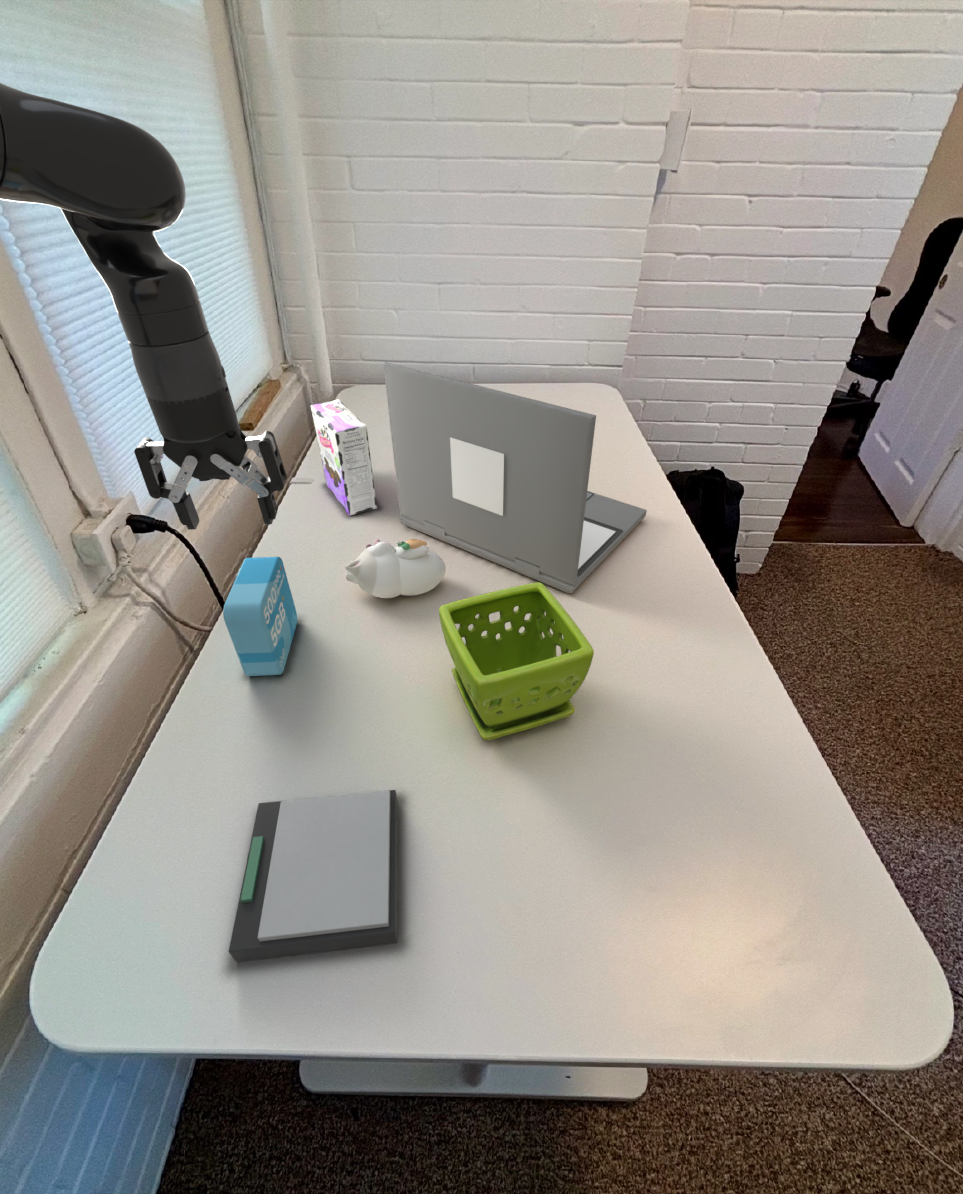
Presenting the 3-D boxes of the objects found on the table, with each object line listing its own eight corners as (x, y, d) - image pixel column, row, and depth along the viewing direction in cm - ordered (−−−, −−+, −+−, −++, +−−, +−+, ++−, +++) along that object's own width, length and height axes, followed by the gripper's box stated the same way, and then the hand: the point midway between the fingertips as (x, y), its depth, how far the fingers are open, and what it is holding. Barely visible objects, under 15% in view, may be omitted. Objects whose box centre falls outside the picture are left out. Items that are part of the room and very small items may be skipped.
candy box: (325, 485, 117) (308, 403, 107) (353, 477, 119) (340, 397, 109) (349, 517, 108) (333, 431, 97) (379, 508, 110) (367, 424, 99)
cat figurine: (447, 528, 87) (343, 532, 83) (454, 579, 84) (346, 584, 81) (438, 555, 96) (343, 559, 92) (444, 602, 93) (346, 608, 90)
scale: (235, 962, 51) (225, 948, 49) (264, 815, 62) (256, 798, 60) (397, 943, 52) (393, 928, 50) (397, 801, 63) (394, 784, 61)
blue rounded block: (281, 679, 77) (259, 610, 69) (246, 681, 77) (220, 611, 69) (298, 619, 86) (280, 551, 78) (267, 620, 86) (246, 552, 78)
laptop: (644, 522, 105) (676, 359, 87) (571, 599, 89) (591, 418, 71) (486, 470, 121) (485, 323, 103) (399, 527, 105) (380, 364, 87)
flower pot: (586, 726, 71) (599, 651, 63) (477, 762, 67) (475, 686, 59) (537, 649, 81) (542, 576, 73) (440, 676, 77) (434, 602, 69)
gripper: (94, 402, 54) (159, 546, 65) (252, 393, 56) (290, 537, 66) (123, 374, 60) (178, 510, 71) (266, 367, 61) (299, 502, 72)
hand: (232, 523), depth 68 cm, fingers open, 8 cm apart
